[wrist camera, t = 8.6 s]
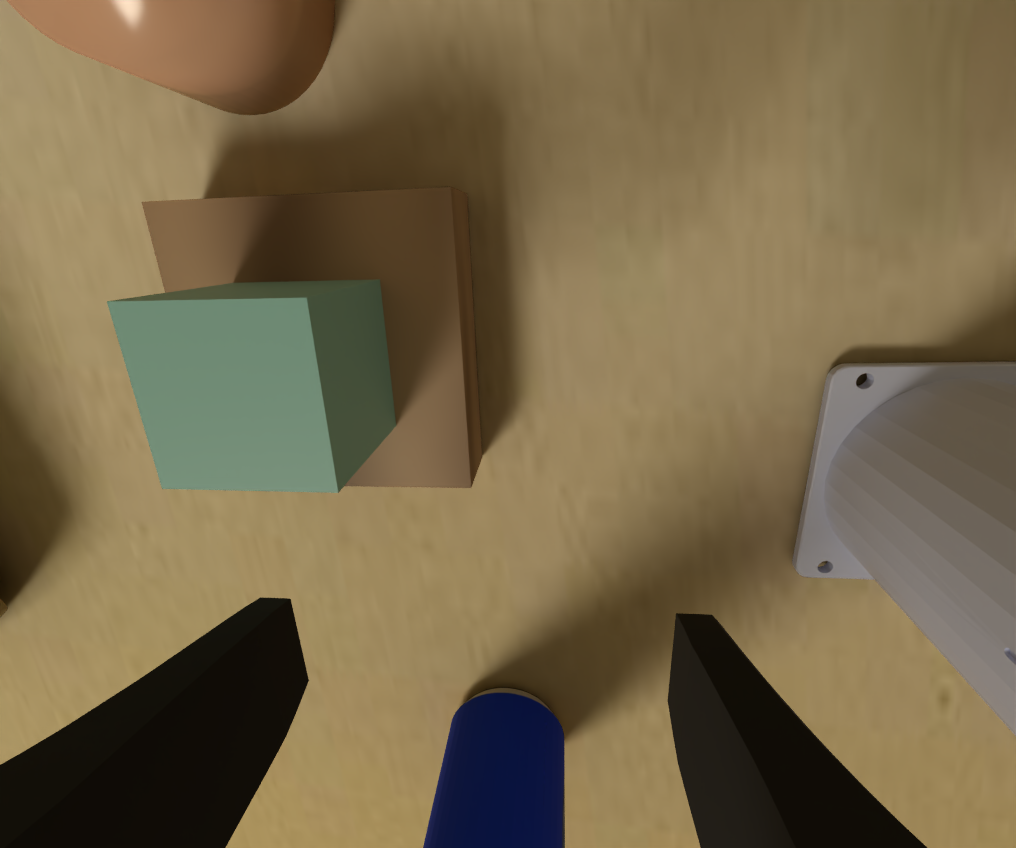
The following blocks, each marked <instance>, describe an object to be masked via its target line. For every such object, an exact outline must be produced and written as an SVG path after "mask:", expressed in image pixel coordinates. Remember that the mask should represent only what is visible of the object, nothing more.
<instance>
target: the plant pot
mask: <svg viewBox="0 0 1016 848" xmlns="http://www.w3.org/2000/svg"><path fill="white" fill-rule="evenodd" d="M6 610H7V606H6V605H5V603H4V602H3V601H2V600H1V599H0V617H1V616H2V615H3V614H4V613H5V612H6Z"/></svg>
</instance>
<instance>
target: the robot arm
mask: <svg viewBox="0 0 1016 848" xmlns="http://www.w3.org/2000/svg"><path fill="white" fill-rule="evenodd" d="M864 373H867V379H866V381H865V382H864V383H863V384H862V385H858V386H856V380H857V378H858V377H859V376H860V375H861V374H864ZM823 561H828V562H827V563H826V564H825V565H824V566H820V567H818V565H819V564H820V563H821V562H823ZM792 562H793V566H794V568H795V569H796V571H797V572H798V574H800V575H801V576H804V577H814V578H846V579H875V580H876V582H877V583H878V584H879V585H880V586H881V587H882V588H883V589H884V590H885V591H886V593H887V594H888V595H889V596H890V597H891V598H892V599H893V600H894V601H895V603H896V604H897V605H898V606H899V607H900V608H901V609H902V610H903V611H904V613H905V614H906V615H907V616H908V617H909V618H910V619H911V620H912V621H913V623H914V624H915V625H916V626H917V627H918V628H919V629H920V630H921V631H922V633H923V634H924V635H925V636H926V637H927V638H928V639H929V640H930V641H931V643H932V644H933V645H934V646H935V647H936V648H937V649H938V650H939V651H940V653H941V654H942V655H943V656H944V657H945V658H946V659H947V660H948V661H949V663H950V664H951V665H952V666H953V667H954V668H955V669H956V670H957V671H958V672H959V674H960V675H961V676H962V677H963V678H964V679H965V680H966V681H967V682H968V684H969V685H970V686H971V687H972V688H973V689H974V690H975V691H976V692H977V694H978V695H979V696H980V697H981V698H982V699H983V700H984V701H985V702H986V704H987V705H988V706H989V707H990V708H991V709H992V710H993V711H994V712H995V714H996V715H997V716H998V717H999V718H1000V719H1001V720H1002V721H1003V722H1004V724H1005V725H1006V726H1007V727H1008V728H1009V729H1010V730H1011V731H1012V732H1013V734H1014V735H1015V736H1016V362H924V363H845V364H839V365H837V366H835V367H834V368H832V370H831V371H830V372H829V373H828V375H827V378H826V382H825V388H824V393H823V398H822V404H821V409H820V415H819V420H818V425H817V431H816V436H815V442H814V447H813V452H812V458H811V463H810V468H809V474H808V479H807V485H806V490H805V495H804V501H803V506H802V512H801V517H800V522H799V528H798V533H797V539H796V544H795V549H794V555H793V560H792ZM308 681H309V680H308V675H307V671H306V666H305V662H304V657H303V653H302V648H301V644H300V639H299V635H298V631H297V626H296V622H295V617H294V613H293V608H292V604H291V599H285V598H259V599H258V600H256V601H254V602H253V603H251V604H249V605H248V606H246V607H245V608H243V609H242V610H240V611H239V612H237V613H236V614H234V615H233V616H231V617H230V618H228V619H227V620H225V621H224V622H222V623H221V624H219V625H218V626H216V627H215V628H214V629H212V630H211V631H209V632H208V633H206V634H205V635H203V636H202V637H200V638H199V639H198V640H196V641H195V642H193V643H192V644H190V645H189V646H187V647H186V648H185V649H183V650H182V651H180V652H179V653H177V654H176V655H174V656H173V657H171V658H170V659H168V660H167V661H165V662H164V663H163V664H161V665H160V666H158V667H157V668H155V669H154V670H152V671H151V672H149V673H148V674H146V675H145V676H143V677H142V678H140V679H139V680H137V681H136V682H134V683H133V684H131V685H130V686H128V687H127V688H125V689H123V690H122V691H120V692H119V693H117V694H116V695H114V696H113V697H111V698H109V699H108V700H106V701H105V702H103V703H102V704H100V705H99V706H97V707H95V708H94V709H92V710H91V711H89V712H88V713H86V714H85V715H83V716H81V717H80V718H78V719H77V720H75V721H74V722H72V723H71V724H69V725H67V726H66V727H64V728H62V729H61V730H59V731H58V732H56V733H54V734H53V735H51V736H49V737H48V738H46V739H44V740H43V741H41V742H39V743H38V744H36V745H34V746H32V747H31V748H29V749H27V750H26V751H24V752H22V753H20V754H19V755H17V756H15V757H13V758H12V759H10V760H8V761H6V762H5V763H3V764H1V765H0V848H225V847H226V846H227V844H228V842H229V840H230V838H231V836H232V835H233V833H234V831H235V829H236V827H237V826H238V824H239V822H240V820H241V818H242V817H243V815H244V813H245V811H246V809H247V807H248V806H249V804H250V802H251V800H252V798H253V797H254V795H255V793H256V791H257V789H258V788H259V786H260V784H261V782H262V780H263V778H264V776H265V775H266V773H267V771H268V769H269V767H270V765H271V764H272V762H273V760H274V758H275V756H276V754H277V752H278V751H279V749H280V747H281V745H282V743H283V741H284V739H285V737H286V735H287V733H288V730H289V728H290V726H291V723H292V721H293V719H294V716H295V714H296V712H297V709H298V707H299V704H300V702H301V699H302V696H303V694H304V691H305V689H306V686H307V684H308ZM668 705H669V712H670V718H671V724H672V730H673V737H674V742H675V748H676V754H677V760H678V765H679V768H680V772H681V776H682V780H683V784H684V787H685V791H686V795H687V799H688V802H689V806H690V810H691V814H692V817H693V821H694V825H695V828H696V832H697V836H698V839H699V843H700V847H701V848H927V847H926V846H925V845H924V844H923V843H922V842H921V841H920V840H918V839H917V838H916V837H915V836H914V835H913V834H912V833H911V832H910V831H909V830H908V829H907V828H906V827H905V826H903V825H902V824H901V823H900V822H899V821H898V820H897V819H896V818H895V817H894V816H893V815H892V814H891V813H890V812H889V811H888V810H887V809H886V808H885V807H884V806H883V805H882V804H881V803H880V802H879V801H878V800H877V799H876V798H875V797H874V796H873V795H872V794H871V793H870V792H869V791H868V790H867V789H866V788H865V787H864V786H863V785H862V784H861V783H860V782H859V781H858V780H857V779H856V778H855V777H854V776H853V775H852V774H851V773H850V772H849V771H848V770H847V769H846V768H845V767H844V766H843V765H842V763H841V762H840V761H839V760H838V759H837V758H836V757H835V756H834V755H833V754H832V753H831V752H830V751H829V750H828V749H827V748H826V747H825V746H824V745H823V743H822V742H821V741H820V740H819V739H818V738H817V737H816V736H815V735H814V734H813V733H812V732H811V730H810V729H809V728H808V727H807V726H806V725H805V724H804V723H803V722H802V720H801V719H800V718H799V717H798V716H797V715H796V714H795V713H794V711H793V710H792V709H791V708H790V707H789V706H788V705H787V704H786V702H785V701H784V700H783V699H782V698H781V697H780V696H779V695H778V693H777V692H776V691H775V690H774V689H773V688H772V686H771V685H770V684H769V683H768V682H767V681H766V679H765V678H764V677H763V676H762V675H761V673H760V672H759V671H758V670H757V669H756V667H755V666H754V665H753V664H752V663H751V661H750V660H749V659H748V658H747V657H746V655H745V654H744V653H743V652H742V650H741V649H740V648H739V647H738V645H737V644H736V643H735V642H734V641H733V639H732V638H731V637H730V636H729V634H728V633H727V632H726V631H725V629H724V628H723V627H722V626H721V624H720V623H719V622H718V621H717V620H716V619H715V618H714V616H713V615H704V614H678V613H676V620H675V631H674V641H673V651H672V662H671V672H670V682H669V693H668Z"/></svg>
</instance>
